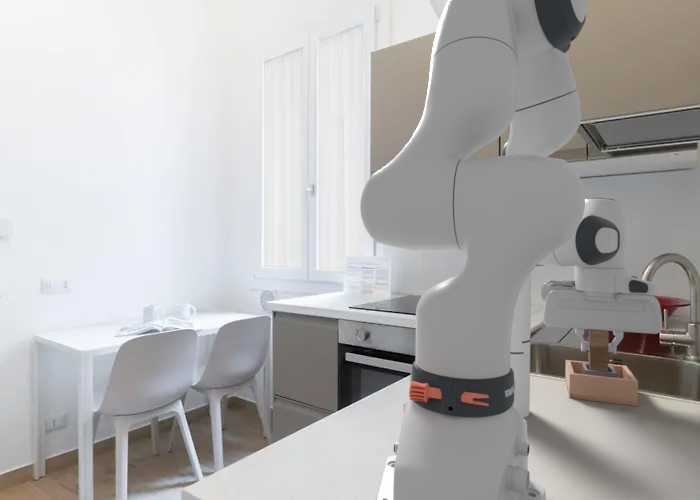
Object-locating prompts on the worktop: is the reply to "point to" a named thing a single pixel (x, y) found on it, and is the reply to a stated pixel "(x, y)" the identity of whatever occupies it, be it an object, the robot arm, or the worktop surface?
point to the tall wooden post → (598, 350)
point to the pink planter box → (601, 383)
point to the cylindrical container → (521, 349)
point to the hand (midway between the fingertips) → (598, 352)
